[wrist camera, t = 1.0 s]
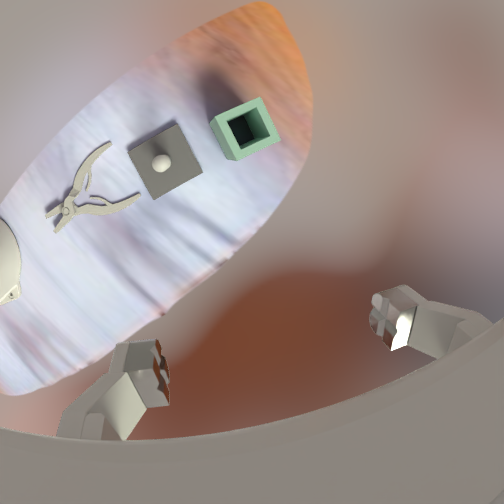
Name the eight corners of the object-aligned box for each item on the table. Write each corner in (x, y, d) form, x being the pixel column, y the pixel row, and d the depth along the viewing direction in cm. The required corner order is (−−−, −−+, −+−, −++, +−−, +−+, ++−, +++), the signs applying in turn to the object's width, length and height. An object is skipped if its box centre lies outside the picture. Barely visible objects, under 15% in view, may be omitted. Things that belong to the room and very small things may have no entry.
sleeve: (227, 159, 40) (236, 160, 32) (209, 123, 37) (214, 116, 30) (263, 141, 40) (280, 140, 33) (246, 106, 38) (260, 96, 30)
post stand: (154, 199, 39) (147, 209, 32) (128, 152, 36) (115, 152, 29) (202, 172, 40) (206, 176, 32) (177, 124, 36) (175, 117, 29)
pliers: (140, 198, 38) (65, 250, 37) (142, 196, 39) (69, 247, 39) (108, 140, 34) (34, 198, 33) (110, 140, 35) (39, 196, 35)
